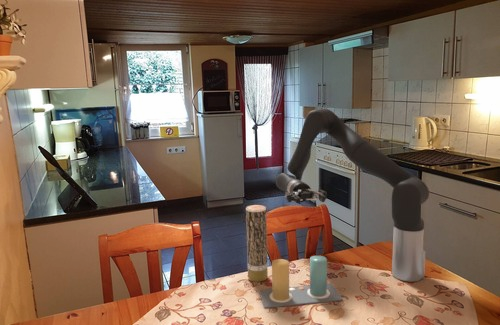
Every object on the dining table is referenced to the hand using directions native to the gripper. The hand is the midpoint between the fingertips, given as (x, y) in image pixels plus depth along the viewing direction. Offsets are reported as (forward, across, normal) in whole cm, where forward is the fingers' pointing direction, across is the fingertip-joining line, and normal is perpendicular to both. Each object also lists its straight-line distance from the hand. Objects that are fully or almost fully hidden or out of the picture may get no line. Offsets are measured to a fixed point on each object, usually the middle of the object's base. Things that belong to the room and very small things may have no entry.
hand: (311, 200), depth 124 cm
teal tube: (+14, -3, +26) cm, 30 cm away
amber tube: (+14, -15, +26) cm, 33 cm away
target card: (+15, -9, +26) cm, 31 cm away
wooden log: (0, -20, +26) cm, 33 cm away
